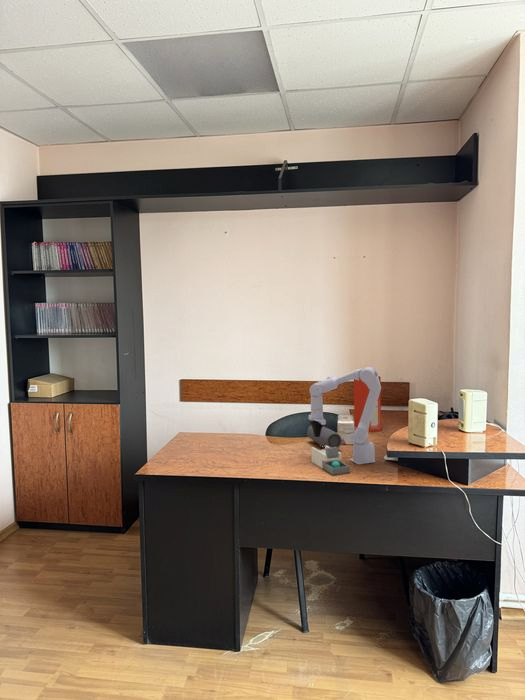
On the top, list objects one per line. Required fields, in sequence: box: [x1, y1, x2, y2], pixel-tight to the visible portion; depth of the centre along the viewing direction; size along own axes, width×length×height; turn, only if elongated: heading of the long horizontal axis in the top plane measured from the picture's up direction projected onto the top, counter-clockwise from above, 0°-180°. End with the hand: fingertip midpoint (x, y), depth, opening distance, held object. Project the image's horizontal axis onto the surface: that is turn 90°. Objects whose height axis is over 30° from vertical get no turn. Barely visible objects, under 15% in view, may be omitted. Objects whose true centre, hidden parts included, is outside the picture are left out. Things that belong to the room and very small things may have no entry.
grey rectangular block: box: [324, 447, 339, 458], centre depth 214 cm, size 5×2×4 cm, turn 110°
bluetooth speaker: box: [306, 424, 342, 449], centre depth 250 cm, size 23×9×10 cm, turn 21°
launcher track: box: [310, 445, 342, 469], centre depth 219 cm, size 8×14×7 cm, turn 20°
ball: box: [332, 461, 340, 468], centre depth 210 cm, size 4×4×4 cm
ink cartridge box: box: [336, 414, 355, 445], centre depth 254 cm, size 9×5×15 cm, turn 84°
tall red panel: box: [353, 375, 382, 433], centre depth 285 cm, size 8×17×32 cm, turn 19°
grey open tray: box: [323, 460, 351, 476], centre depth 210 cm, size 8×8×3 cm
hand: (317, 436), depth 229 cm, fingers closed
